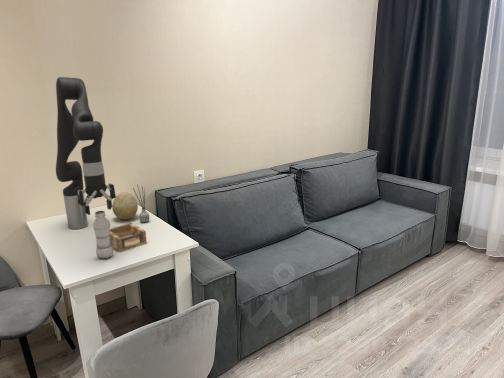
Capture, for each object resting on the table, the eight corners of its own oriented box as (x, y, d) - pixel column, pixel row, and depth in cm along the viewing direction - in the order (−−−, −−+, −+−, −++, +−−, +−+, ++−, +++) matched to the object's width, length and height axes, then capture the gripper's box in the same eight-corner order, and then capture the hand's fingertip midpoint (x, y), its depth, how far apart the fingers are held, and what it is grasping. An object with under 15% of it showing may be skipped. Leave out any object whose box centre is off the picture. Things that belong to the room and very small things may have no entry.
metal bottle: (99, 253, 161) (93, 209, 155) (115, 253, 161) (110, 209, 155) (94, 260, 154) (88, 215, 149) (111, 260, 155) (106, 214, 149)
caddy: (105, 242, 172) (104, 230, 170) (132, 234, 180) (130, 222, 178) (119, 252, 162) (118, 239, 160) (146, 243, 171) (145, 230, 169)
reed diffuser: (153, 223, 194) (150, 186, 188) (140, 226, 190) (137, 188, 184) (144, 217, 201) (140, 181, 196) (132, 221, 197) (128, 184, 191)
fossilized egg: (108, 222, 195) (105, 195, 191) (122, 214, 207) (119, 188, 203) (131, 224, 192) (128, 196, 188) (143, 215, 204) (140, 189, 200)
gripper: (107, 168, 155) (111, 205, 159) (71, 174, 145) (77, 213, 150) (115, 171, 149) (120, 209, 154) (78, 177, 140) (84, 218, 144)
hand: (99, 211), depth 152 cm, fingers open, 8 cm apart
